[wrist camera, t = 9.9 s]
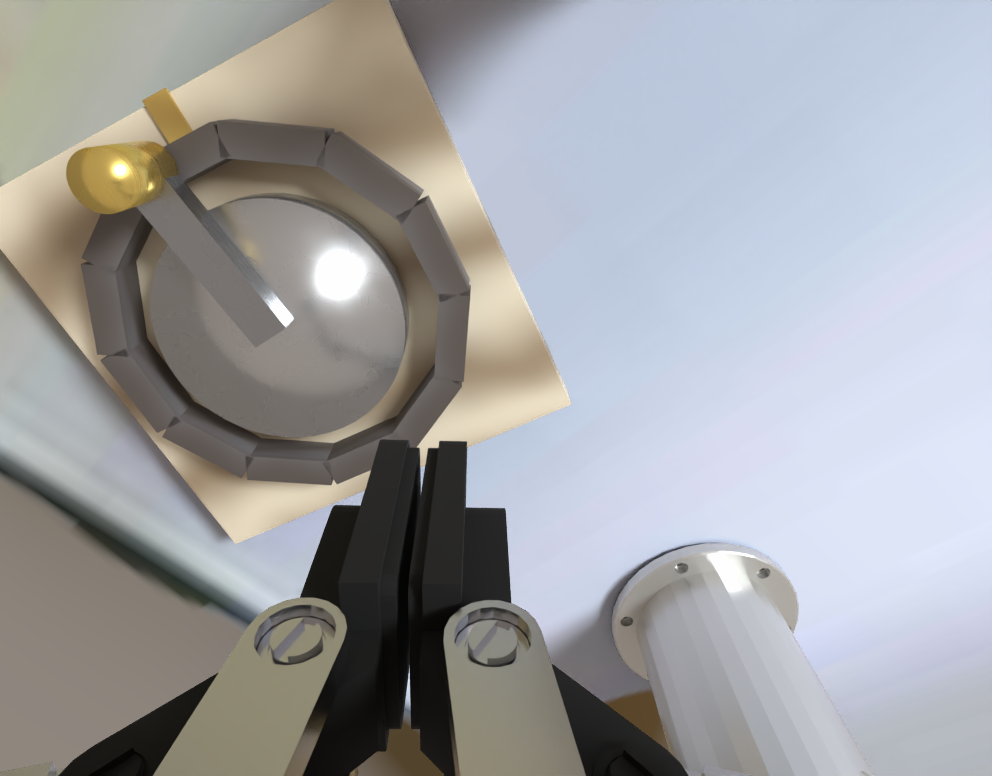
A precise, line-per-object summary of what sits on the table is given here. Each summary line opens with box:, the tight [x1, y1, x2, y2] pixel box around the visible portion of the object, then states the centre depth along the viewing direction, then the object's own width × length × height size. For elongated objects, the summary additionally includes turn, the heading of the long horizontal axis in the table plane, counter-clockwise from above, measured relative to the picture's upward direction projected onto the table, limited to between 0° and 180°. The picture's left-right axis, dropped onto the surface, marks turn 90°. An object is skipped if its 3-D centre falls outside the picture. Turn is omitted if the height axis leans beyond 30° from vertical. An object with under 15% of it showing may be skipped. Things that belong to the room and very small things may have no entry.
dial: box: [66, 140, 409, 437], centre depth 29 cm, size 16×12×6 cm
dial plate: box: [0, 0, 571, 544], centre depth 32 cm, size 22×22×4 cm
